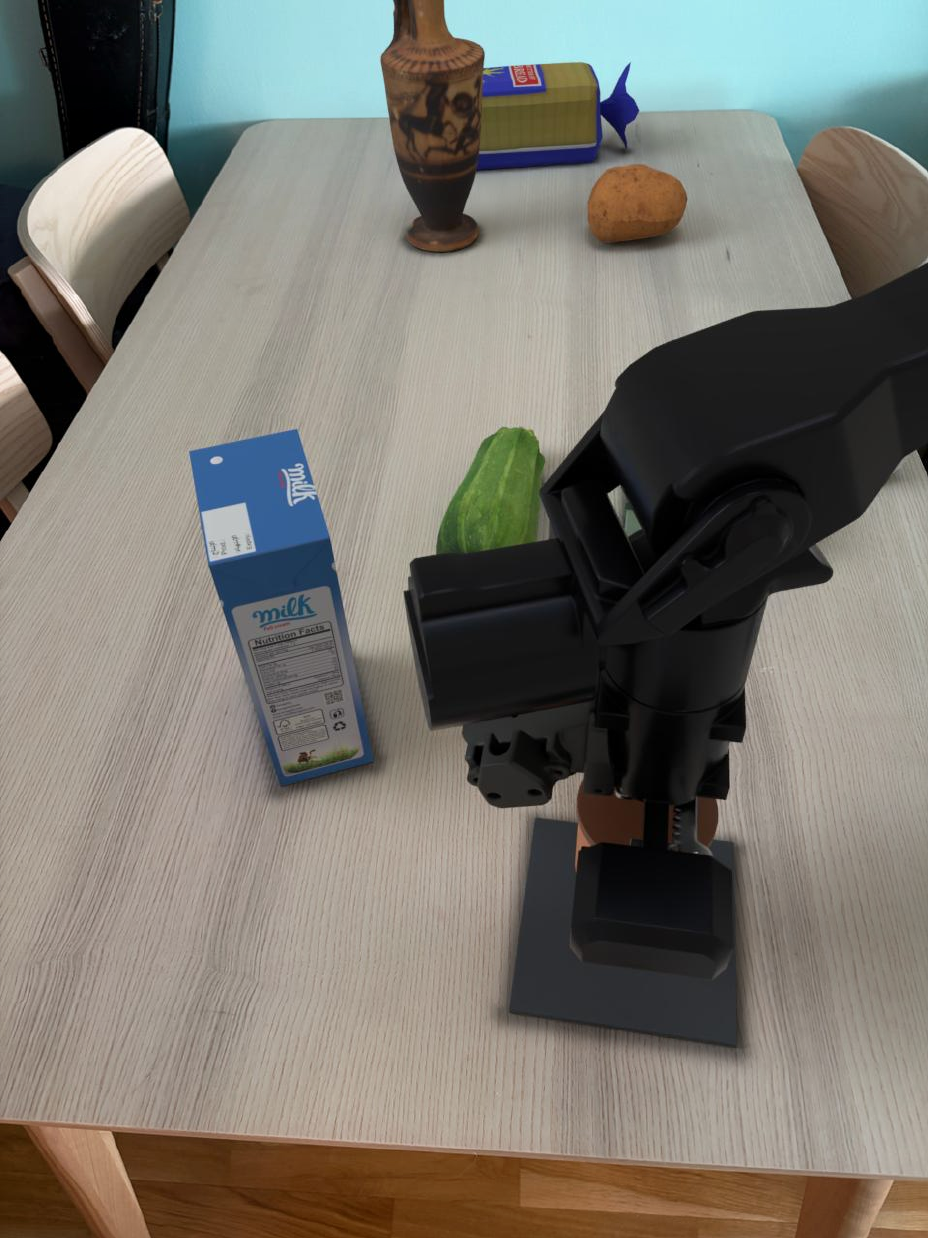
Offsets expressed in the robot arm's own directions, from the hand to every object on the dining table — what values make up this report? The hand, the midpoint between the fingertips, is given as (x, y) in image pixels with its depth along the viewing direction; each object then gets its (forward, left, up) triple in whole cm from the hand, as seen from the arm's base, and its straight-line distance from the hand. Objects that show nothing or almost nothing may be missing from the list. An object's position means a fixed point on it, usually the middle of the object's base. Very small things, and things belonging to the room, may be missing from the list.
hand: (640, 854), depth 50 cm
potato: (+4, -85, -8) cm, 86 cm away
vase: (+26, -83, -8) cm, 87 cm away
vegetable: (+12, -33, -8) cm, 36 cm away
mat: (0, 0, -8) cm, 8 cm away
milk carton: (+22, -12, -8) cm, 26 cm away
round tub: (0, 0, -1) cm, 1 cm away
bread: (+18, -107, -8) cm, 109 cm away
